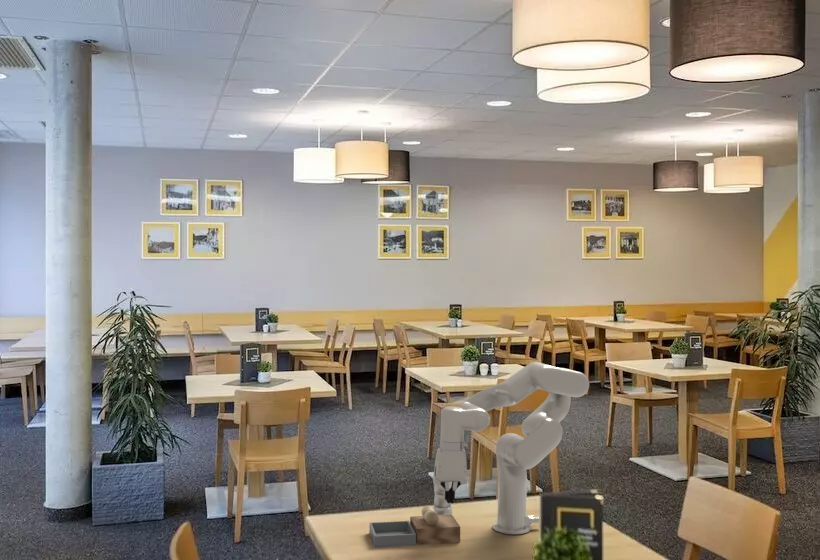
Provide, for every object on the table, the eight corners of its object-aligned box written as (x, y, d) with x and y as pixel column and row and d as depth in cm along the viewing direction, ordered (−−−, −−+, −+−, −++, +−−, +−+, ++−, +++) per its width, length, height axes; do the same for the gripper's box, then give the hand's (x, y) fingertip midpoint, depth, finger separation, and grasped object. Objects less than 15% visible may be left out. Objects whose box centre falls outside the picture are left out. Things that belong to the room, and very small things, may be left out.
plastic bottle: (450, 523, 277) (451, 465, 276) (430, 522, 278) (431, 463, 277) (453, 517, 283) (454, 460, 282) (434, 516, 285) (434, 459, 284)
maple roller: (435, 515, 268) (431, 504, 267) (440, 523, 260) (436, 511, 260) (423, 519, 267) (420, 508, 267) (428, 527, 259) (424, 516, 259)
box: (408, 531, 269) (408, 520, 269) (415, 545, 256) (416, 534, 256) (369, 533, 267) (369, 522, 267) (374, 547, 254) (374, 536, 254)
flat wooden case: (451, 529, 271) (451, 514, 271) (460, 542, 259) (460, 526, 259) (410, 531, 269) (410, 516, 268) (416, 544, 257) (416, 528, 257)
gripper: (471, 442, 269) (469, 498, 269) (426, 443, 266) (424, 499, 267) (477, 448, 261) (475, 505, 262) (431, 448, 259) (429, 506, 259)
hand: (449, 502), depth 264 cm, fingers closed
